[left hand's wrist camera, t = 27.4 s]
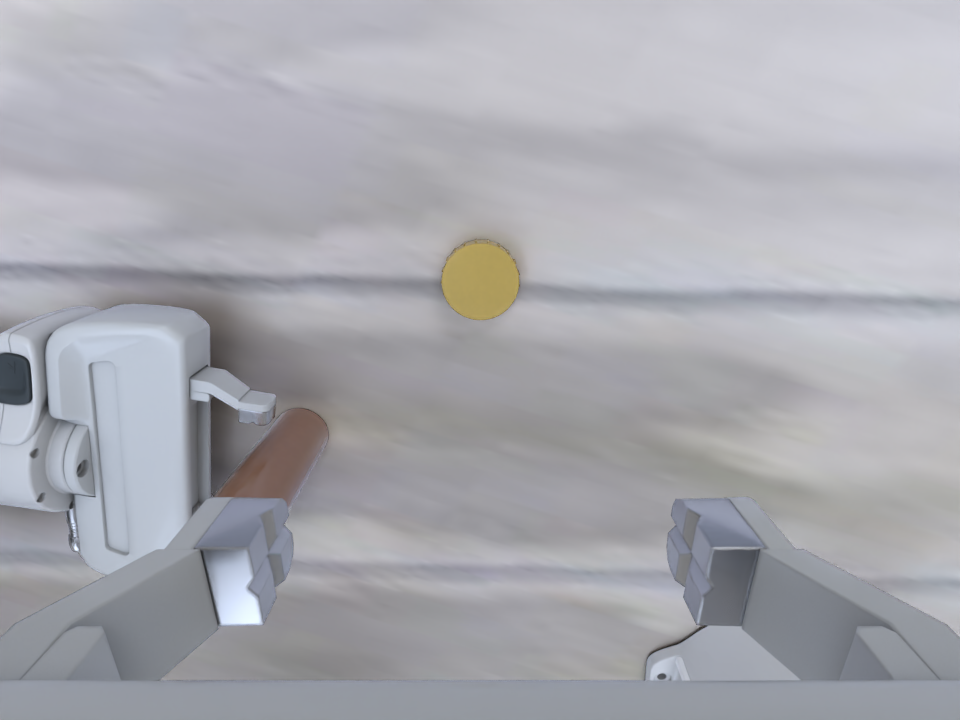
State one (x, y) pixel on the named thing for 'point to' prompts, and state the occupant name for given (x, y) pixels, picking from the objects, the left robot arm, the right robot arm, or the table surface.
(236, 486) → the brown piece
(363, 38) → the table surface
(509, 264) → the lid
